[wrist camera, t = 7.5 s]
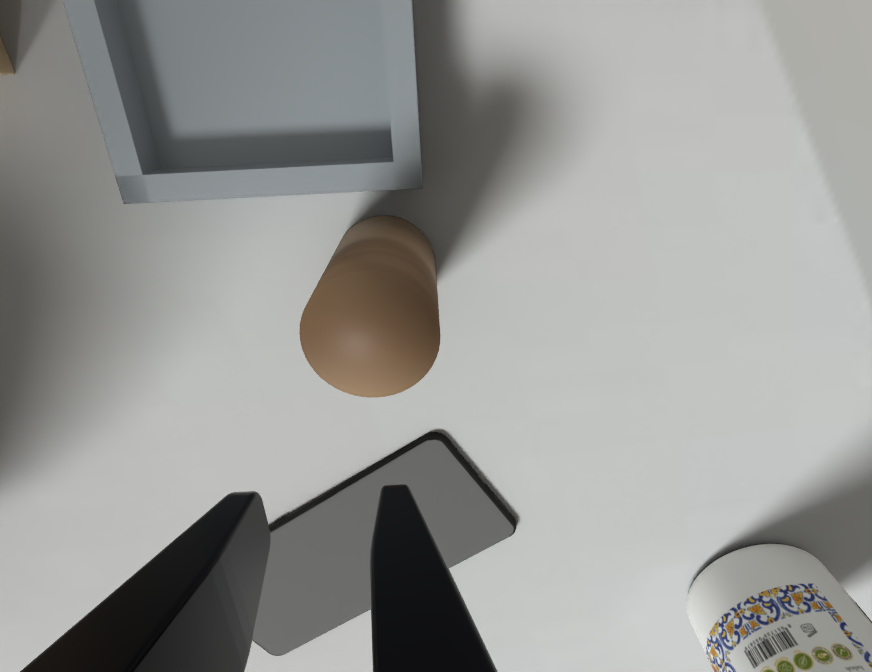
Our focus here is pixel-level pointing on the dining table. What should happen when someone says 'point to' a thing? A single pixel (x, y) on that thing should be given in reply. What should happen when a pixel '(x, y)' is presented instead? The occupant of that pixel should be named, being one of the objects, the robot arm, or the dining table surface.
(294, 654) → the dining table surface
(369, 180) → the tray
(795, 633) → the bath foam
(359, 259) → the dowel
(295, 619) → the smartphone
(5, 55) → the tan beveled block
